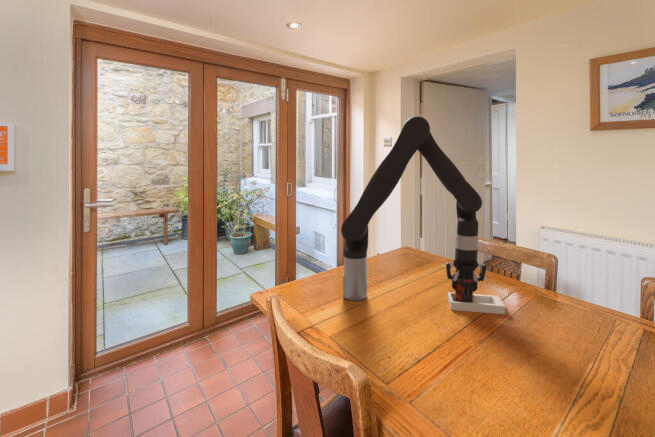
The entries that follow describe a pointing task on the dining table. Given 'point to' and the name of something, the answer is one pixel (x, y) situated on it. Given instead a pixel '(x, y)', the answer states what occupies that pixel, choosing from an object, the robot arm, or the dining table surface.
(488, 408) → the dining table surface
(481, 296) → the white rectangular frame
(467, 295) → the deodorant
